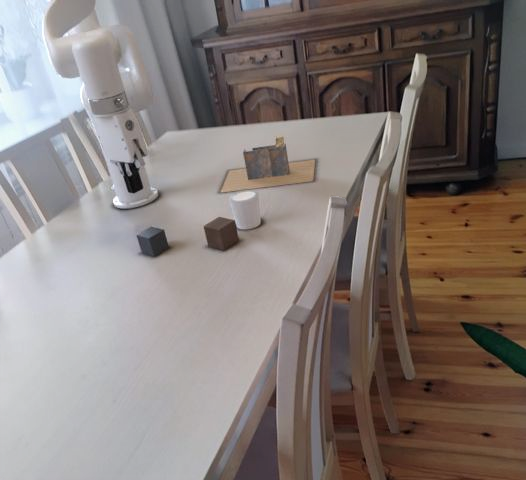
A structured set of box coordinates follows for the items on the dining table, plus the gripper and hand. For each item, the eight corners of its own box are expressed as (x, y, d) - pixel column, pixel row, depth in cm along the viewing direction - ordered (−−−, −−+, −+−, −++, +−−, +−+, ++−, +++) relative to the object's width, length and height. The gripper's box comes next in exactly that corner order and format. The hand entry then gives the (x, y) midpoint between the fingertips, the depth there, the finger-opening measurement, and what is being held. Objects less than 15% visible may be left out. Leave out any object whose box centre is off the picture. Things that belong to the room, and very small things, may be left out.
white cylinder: (260, 229, 130) (254, 200, 126) (231, 231, 132) (225, 203, 128) (266, 216, 135) (261, 188, 131) (238, 218, 137) (232, 190, 133)
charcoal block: (141, 253, 130) (135, 234, 128) (156, 244, 133) (151, 226, 130) (154, 256, 128) (148, 238, 125) (169, 247, 130) (164, 229, 127)
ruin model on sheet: (315, 159, 161) (311, 124, 156) (313, 181, 148) (308, 143, 143) (229, 170, 166) (222, 136, 160) (220, 192, 153) (212, 156, 147)
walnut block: (208, 246, 127) (203, 225, 124) (223, 236, 130) (219, 216, 127) (223, 250, 124) (219, 229, 121) (239, 240, 127) (235, 220, 124)
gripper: (146, 99, 113) (170, 188, 124) (102, 98, 122) (128, 180, 133) (117, 111, 109) (144, 202, 120) (73, 109, 118) (102, 193, 129)
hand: (136, 190), depth 127 cm, fingers closed
